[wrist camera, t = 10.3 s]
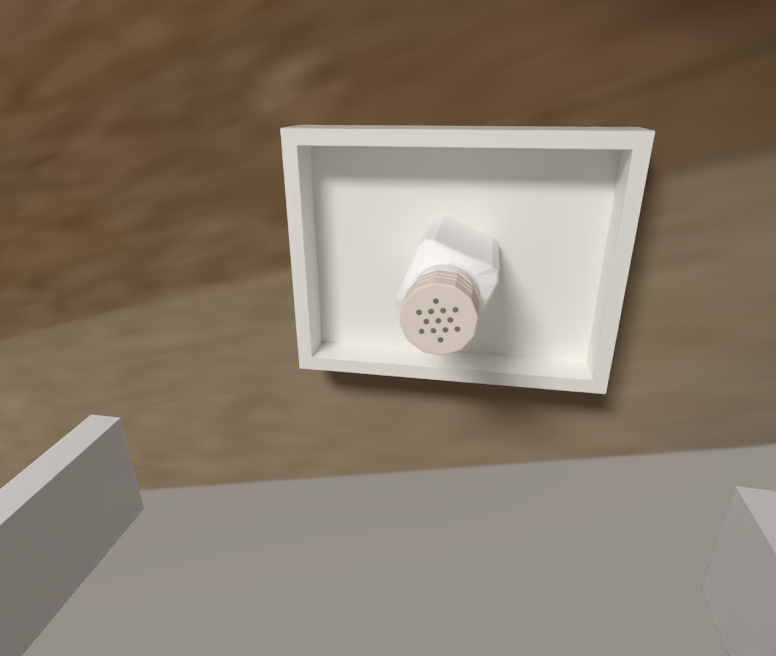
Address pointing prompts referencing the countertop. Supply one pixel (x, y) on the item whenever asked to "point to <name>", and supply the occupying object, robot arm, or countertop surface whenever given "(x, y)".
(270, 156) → the countertop surface
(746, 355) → the countertop surface
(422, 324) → the salt shaker
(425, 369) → the bin
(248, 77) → the countertop surface
